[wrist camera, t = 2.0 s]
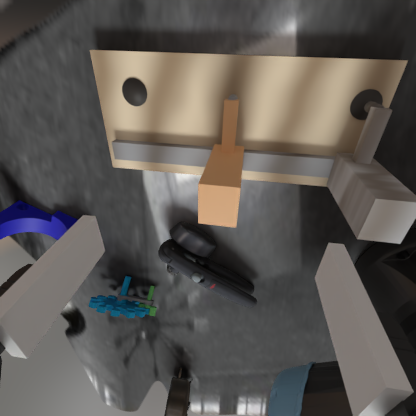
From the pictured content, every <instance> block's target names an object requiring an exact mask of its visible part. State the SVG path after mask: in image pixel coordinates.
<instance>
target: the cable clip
mask: <svg viewBox="0 0 416 416" xmlns="http://www.w3.org/2000/svg"><path fill="white" fill-rule="evenodd" d="M77 221H78V219H75V218H73V217H71V216H69V215H67V214H64V213H62V212H60V211H57V212H56V213H55V214H53V215H51V214H48V213H46V212H44V211H42V210H40V209H37V208H35V207H33V206H31V205H28V204H26V203H24V202H22V201H20V200H19V201H18V202H16V203H14V204H13V205H11V206H10V207H8V208H7V209H5V210H3V211H2V212H0V239H2V238H4V237H6V236H9V235H12V234H15V233H21V232H39V233H44V234H47V235H50V236H52V237H53V238H55V239H56V240H59V239H60V238H61V237H62V236H63V235H64V234H65V233H66V232H67V231H68V230H69V229H70V228H71V227H72V226H73V225H74V224H75V223H76V222H77Z"/></svg>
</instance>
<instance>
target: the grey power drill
mask: <svg viewBox="0 0 416 416" xmlns="http://www.w3.org/2000/svg"><path fill="white" fill-rule="evenodd" d="M181 371H182V368H180V371H179V375H178V378H176V377H173V378H172V381H171V385H170V390H169V395H168V399H167V405H166V410H165V416H187V410H188V408H189V407H188V406H189V405H190V402H189V394H190V383H191V381H192V380H193V379H192V380H191V381H190V382H189V381H188V380H187V379H181Z"/></svg>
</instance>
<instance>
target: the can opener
mask: <svg viewBox="0 0 416 416" xmlns="http://www.w3.org/2000/svg"><path fill="white" fill-rule="evenodd" d="M170 235H171V236H172V238H173V239H169V240H167V241H165V242H164V243H163V244H162V245H161V246H160V249H159V257H160V259H161V260H162V261H164V262H165V263H167V272H168V273H169V274H170V275H172V276H175V275H177V273H179V272H181V273H182V274H184V275H186V276H187V277H189V278H190V279H192V280H193V281H195V282H197V283H198V284H200V285H202V286H203V287H205V288H207V289H209V290H210V291H212V292H214V293H216V294H218V295H220V296H222V297H224V298H226V299H228V300H230V301H233V302H235V303H237V304H240V305H242V306H245V307H248V308H251V307H254V306H255V305H256V303H257V300H256V298H254V297H253V296H251V294H252V293H253V292H254V287H253V286H252V285H251V284H250V283H248V282H247V281H246V280H244V279H243V278H241V277H240V276H238V275H236V274H235V273H233V272H231V271H229V270H228V269H226V268H224V267H222V266H220V265H218V264H216V263H215V262H213V261H211V260H210V259H208V258H207V257H209V256H210V255H211V254H212V252H213V251H214V249H215V247H216V244H215V242H214V241H213V240H212V239H211V238H210V237H209V236H208V235H207V234H206V233H205V232H203V231H202V230H200V229H198V228H197V227H195V226H193V225H190V224H188V223H184V222H180V223H178V224H177V225H176V226H175V227H173V228H172V229H171V230H170Z"/></svg>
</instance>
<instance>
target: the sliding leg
mask: <svg viewBox="0 0 416 416" xmlns="http://www.w3.org/2000/svg"><path fill="white" fill-rule="evenodd" d="M238 106H239V99H238V97H237V96H236V95H235V94H232V95H230V96H229V98H228V99H225V100H224V113H223V130H222V145H220V144H215V145H214V147H213V150H212V152H211V154H210V157H209V159H208V162H207V164H206V167H205V169H204V172H203V174H202V176H201V179H200V181H199V184H198V223H200V224H209V225H218V226H226V227H235V228H236V224H237V215H238V206H239V197H240V188H241V177H242V166H243V155H244V146H235V139H236V128H237V117H238Z"/></svg>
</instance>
